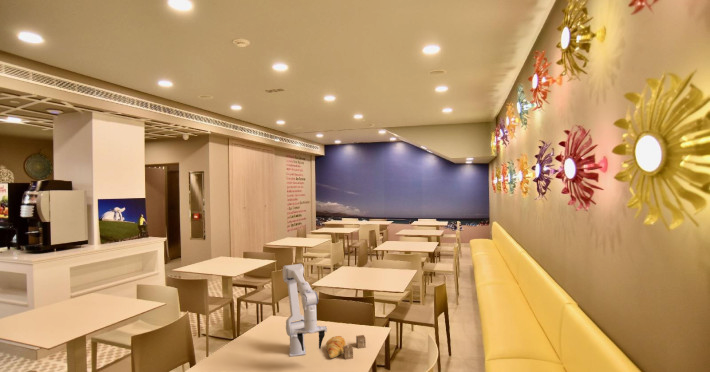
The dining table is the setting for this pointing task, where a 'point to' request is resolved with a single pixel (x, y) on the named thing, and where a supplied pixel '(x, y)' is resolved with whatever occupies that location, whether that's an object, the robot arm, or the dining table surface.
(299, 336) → the robot arm
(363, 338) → the number block seven
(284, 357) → the dining table surface
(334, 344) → the croissant
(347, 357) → the number block one
